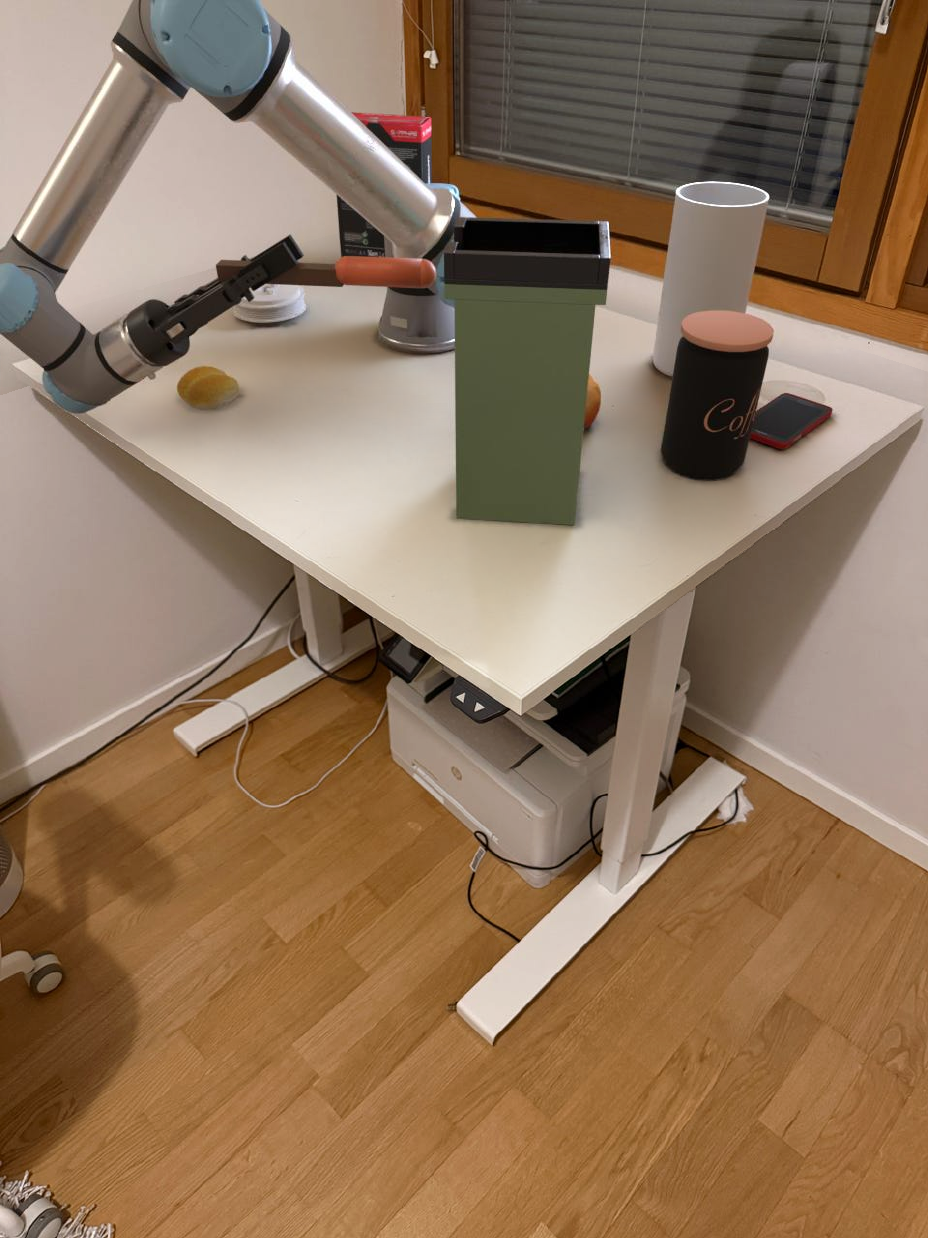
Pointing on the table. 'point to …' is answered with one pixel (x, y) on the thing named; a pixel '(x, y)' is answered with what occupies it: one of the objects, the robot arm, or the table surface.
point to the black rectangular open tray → (528, 253)
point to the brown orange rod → (348, 272)
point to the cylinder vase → (708, 257)
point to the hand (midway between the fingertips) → (293, 249)
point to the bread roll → (207, 388)
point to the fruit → (592, 402)
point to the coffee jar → (714, 393)
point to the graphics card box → (412, 148)
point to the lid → (272, 304)
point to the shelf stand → (520, 399)
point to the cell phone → (787, 420)
